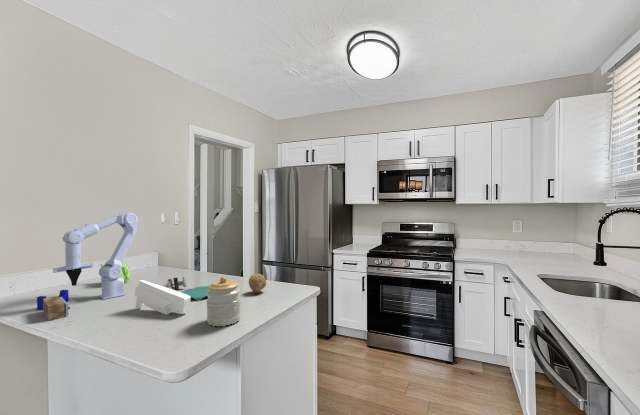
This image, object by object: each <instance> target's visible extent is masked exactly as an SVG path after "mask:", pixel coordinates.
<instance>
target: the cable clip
mask: <svg viewBox="0 0 640 415" xmlns="http://www.w3.org/2000/svg"><path fill="white" fill-rule="evenodd" d="M57 296H58V297H62V298H63V299H64V300H65V301H66V302H67V303H68V302H69V289H61V290H59V295H57ZM44 298H47V296H46V295H44V296H43V295H40V296H37V297H36V309H37V311H43V299H44ZM69 303H70V302H69Z"/></svg>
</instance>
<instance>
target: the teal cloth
mask: <svg viewBox="0 0 640 415" xmlns="http://www.w3.org/2000/svg"><path fill="white" fill-rule="evenodd" d="M208 287H209V285H206V286H195V287H193V288H189V289H185V290H183V291H180V292H181V293H183V294H186V295H189V296H190V297H191V300H195V301H197V300H200V301H202V299H204V298H208V296H207V295H206V292H207V291H209V288H208Z"/></svg>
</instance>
